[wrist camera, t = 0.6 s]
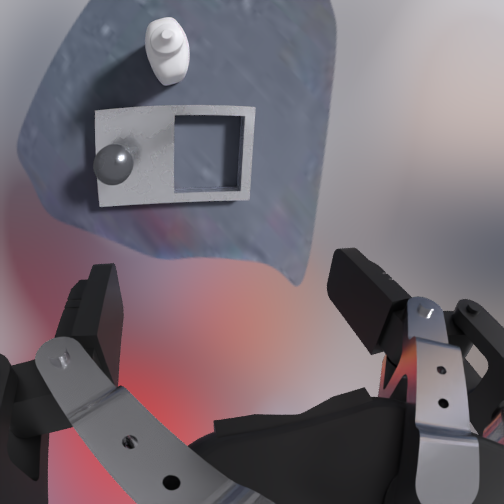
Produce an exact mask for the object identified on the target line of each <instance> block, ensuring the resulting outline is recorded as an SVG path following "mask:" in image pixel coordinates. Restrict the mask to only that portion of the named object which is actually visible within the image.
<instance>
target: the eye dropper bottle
mask: <svg viewBox="0 0 504 504" xmlns="http://www.w3.org/2000/svg"><path fill="white" fill-rule="evenodd" d="M145 48H146V53H147V57H148V60H149V62H150V65H151V67H152V69H153V72H154V74H155V75H156V77H157V79H158V80H159V81H160V82H161V83H162V84H163V85H165V86H167V85H171V84H175V83H178V82H181V81H182V80H183V79H184V77H185V75H186V72H187V69H188V65H189V44H188V40H187V37H186V34H185V32H184V31H183V29H182V27H181V26H180V25H179V23H178V22H177V21H176V20H175V19H173V18H171V17H166V18H162V19H158V20H155V21H153V22H151V23H150V24H149V25H148V27H147V31H146V36H145Z"/></svg>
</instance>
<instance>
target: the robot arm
mask: <svg viewBox="0 0 504 504" xmlns="http://www.w3.org/2000/svg"><path fill="white" fill-rule="evenodd" d="M327 292H328V296H329V298H330V300H331V301H332V302H333V304H334V305H335V306H336V308H337V309H338V310H339V312H340V313H341V314H342V316H343V317H344V318H345V320H346V321H347V322H348V324H349V325H350V327H351V328H352V329H353V331H354V332H355V333H356V335H357V336H358V337H359V339H360V340H361V342H362V343H363V344H364V346H365V347H366V348H367V350H368V351H369V353H370V354H371V355H373V354H376V353H380V352H383V351H384V352H385V356H384V359H383V361H382V369H381V377H380V385H379V392H378V397H370V395H369V393H368V392H367V390H366V389H365V388H361V389H357V390H354V391H351V392H348V393H344V394H341V395H337V396H334V397H332V398H330V399H328V400H326V401H324V402H323V403H321V404H319V405H317V406H315V407H313V408H311V409H310V410H308V411H306V412H304V413H301V414H298V415H263V414H254V415H248V416H242V417H236V418H229V419H223V420H214V432H213V433H210V434H208V435H205V436H203V437H201V438H199V439H197V440H196V441H194V442H193V443H191V444H190V445H188V446H187V445H185V444H184V443H183V442H182V441H181V440H180V439H178V438H177V437H176V436H175V435H174V434H173V433H171V432H170V431H169V430H168V429H167V428H166V427H165V426H164V425H163V424H162V423H160V422H159V421H158V420H157V419H156V418H155V417H154V416H153V415H152V414H151V413H150V412H149V411H148V410H147V409H146V408H145V407H144V406H143V405H142V404H141V403H140V402H139V401H138V400H137V399H136V398H135V397H134V396H133V395H132V394H131V393H130V392H129V391H128V390H127V389H126V388H124V387H123V386H119V387H118V377H119V361H120V348H121V347H120V346H121V336H122V327H123V316H124V314H123V303H122V298H121V292H120V287H119V282H118V277H117V271H116V266H115V264H114V263H111V264H96V265H93V266H92V269H91V272H90V275H89V278H88V280H80V281H79V282H78V283H77V284H76V285H75V286H74V287H73V288H72V289H71V292H70V294H69V297H68V301H67V302H66V305H65V310H64V311H63V313H62V316H61V319H60V322H59V325H58V328H57V331H56V335H55V338H53V339H51V340H49V341H47V342H45V343H44V344H43V345H42V346H41V347H40V348H39V350H38V351H37V353H36V357H35V359H34V360H31V361H28V362H24V363H20V364H16V365H12V366H11V364H10V363H9V361H8V359H7V358H6V357H5V356H4V355H2V354H0V504H48V446H49V433H51V432H55V431H59V430H63V429H67V428H71V427H74V429H75V430H76V431H77V433H78V434H79V436H80V437H81V438H82V439H83V441H84V442H85V444H86V445H87V446H88V447H89V449H90V450H91V451H92V453H93V454H94V455H95V457H96V458H97V459H98V460H99V462H100V463H101V464H102V465H103V467H104V468H105V469H106V470H107V471H108V472H109V474H110V475H111V476H112V477H113V478H114V480H115V481H116V482H117V483H118V484H119V485H120V486H121V487H122V488H123V490H124V491H125V492H126V493H127V494H128V495H129V496H130V497H131V498H132V499H133V500H134V501H135V502H136V503H137V504H504V328H503V327H502V326H501V325H500V324H499V323H498V322H497V321H496V320H495V319H494V318H493V317H492V316H491V315H490V314H489V313H488V312H487V311H486V310H485V309H484V308H483V307H482V306H481V305H479V304H478V303H476V302H474V301H471V300H468V299H463V300H460V301H459V302H458V303H457V305H456V308H455V310H454V311H442V309H441V307H440V306H439V305H438V304H436V303H435V302H434V301H432V300H430V299H428V298H425V297H411V296H410V295H409V294H408V293H407V292H406V291H405V290H404V289H403V288H402V287H401V286H400V285H399V284H398V283H396V282H395V281H394V280H392V278H391V277H390V276H389V275H388V274H386V273H385V271H384V270H383V269H382V268H381V267H379V266H378V265H377V264H375V263H373V262H371V261H370V260H368V259H367V258H366V257H365V256H364V255H363V254H362V253H361V252H360V251H359V250H357V249H356V248H344V249H343V248H342V249H337V250H335V252H334V255H333V259H332V264H331V268H330V273H329V278H328V282H327ZM473 344H474V345H475V346H476V347H477V348H478V349H479V351H480V352H481V353H482V354H483V355H484V356H485V358H486V359H487V361H488V370H487V372H486V374H485V375H484V377H483V378H481V377H480V376H479V375H478V373H477V372H476V371H475V370H474V368H473V367H472V366H471V365H470V363H469V362H468V361H467V360H466V359H465V357H466V356H467V354H468V353H469V351H470V349H471V347H472V346H473ZM470 422H471V423H472V425H473V427H474V428H475V430H476V431H477V432H478V434H479V435H477V434H475V433H472V432H471V431H470Z"/></svg>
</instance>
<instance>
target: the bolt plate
mask: <svg viewBox="0 0 504 504" xmlns="http://www.w3.org/2000/svg"><path fill="white" fill-rule="evenodd" d="M175 115H231V116H241V120H240V137H239V155H238V173H237V187H195V188H174V122H175ZM254 122H255V107H245V106H220V105H168V106H144V107H129V108H116V109H106V110H96V111H95V147H96V156H95V159H94V162H93V170H94V173H95V175H96V177H97V183H98V195H99V206H100V207H107V206H121V205H137V204H154V203H174V202H198V201H232V200H249V198H250V183H251V167H252V152H253V137H254Z"/></svg>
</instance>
